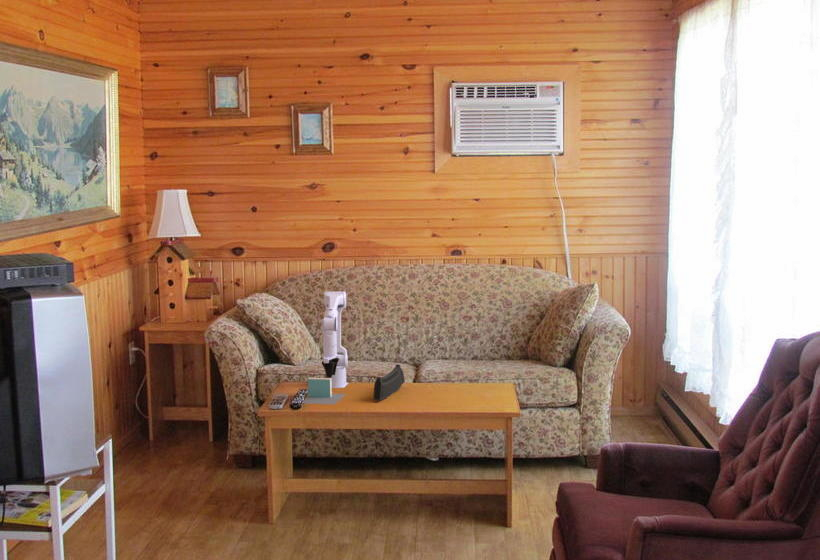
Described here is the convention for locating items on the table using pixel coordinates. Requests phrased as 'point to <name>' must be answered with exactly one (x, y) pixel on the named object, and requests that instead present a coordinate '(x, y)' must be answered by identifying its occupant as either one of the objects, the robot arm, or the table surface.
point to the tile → (320, 387)
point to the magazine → (388, 383)
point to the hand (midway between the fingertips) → (330, 376)
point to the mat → (323, 399)
